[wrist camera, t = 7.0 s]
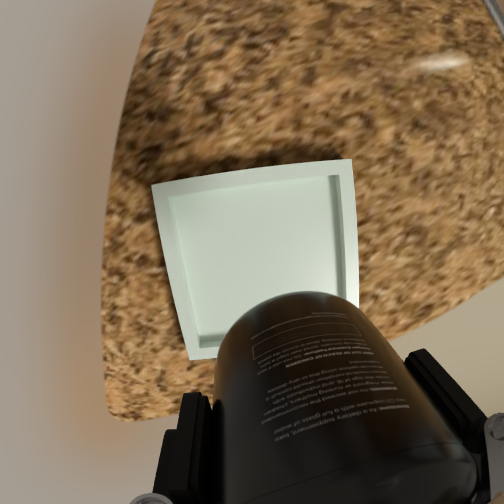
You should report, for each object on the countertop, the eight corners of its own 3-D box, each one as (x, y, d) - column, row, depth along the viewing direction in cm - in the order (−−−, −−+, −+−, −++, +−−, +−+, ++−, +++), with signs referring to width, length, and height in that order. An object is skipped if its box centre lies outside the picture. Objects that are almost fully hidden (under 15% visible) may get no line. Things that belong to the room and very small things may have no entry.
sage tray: (156, 183, 25) (151, 185, 23) (343, 159, 25) (351, 158, 23) (192, 350, 29) (189, 360, 27) (352, 325, 29) (358, 334, 27)
